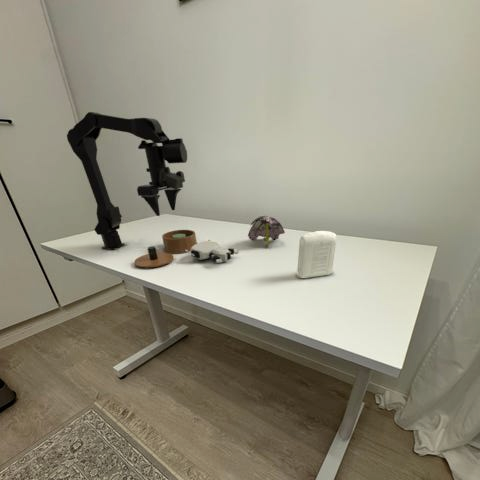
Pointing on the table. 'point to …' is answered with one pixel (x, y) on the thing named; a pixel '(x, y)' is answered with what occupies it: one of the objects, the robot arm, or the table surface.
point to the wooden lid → (153, 258)
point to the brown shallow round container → (179, 241)
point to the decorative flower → (265, 229)
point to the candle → (178, 236)
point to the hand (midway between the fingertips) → (166, 212)
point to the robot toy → (211, 251)
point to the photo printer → (316, 254)
